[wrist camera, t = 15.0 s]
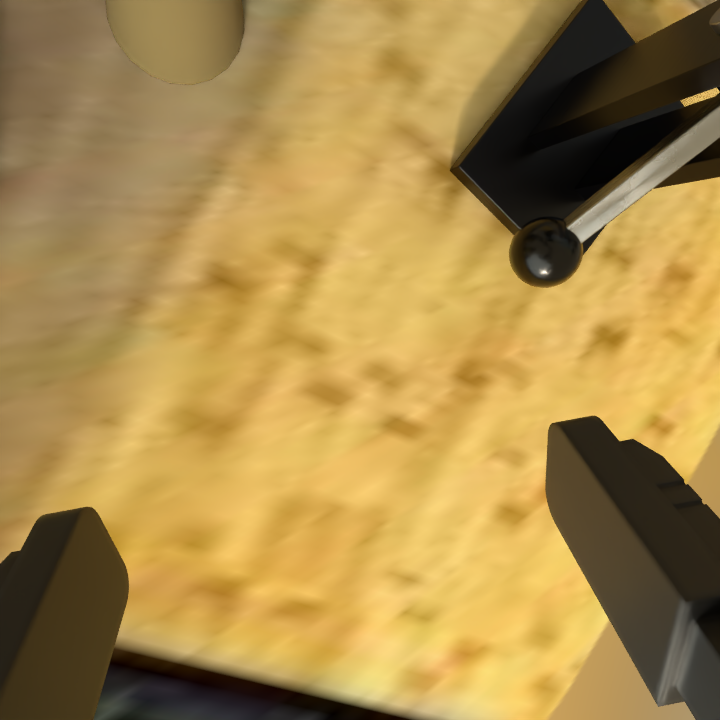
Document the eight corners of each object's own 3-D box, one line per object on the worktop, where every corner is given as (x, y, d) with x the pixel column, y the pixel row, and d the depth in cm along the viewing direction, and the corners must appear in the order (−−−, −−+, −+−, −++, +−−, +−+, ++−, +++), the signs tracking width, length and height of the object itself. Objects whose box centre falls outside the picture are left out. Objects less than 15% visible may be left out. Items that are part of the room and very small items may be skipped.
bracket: (554, 276, 32) (790, 282, 19) (448, 170, 30) (640, 92, 17) (674, 119, 33) (985, 20, 20) (581, 0, 30) (870, -207, 17)
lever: (535, 280, 28) (543, 313, 25) (492, 238, 27) (496, 268, 24) (815, 66, 21) (865, 81, 18) (772, -1, 20) (817, 6, 17)
